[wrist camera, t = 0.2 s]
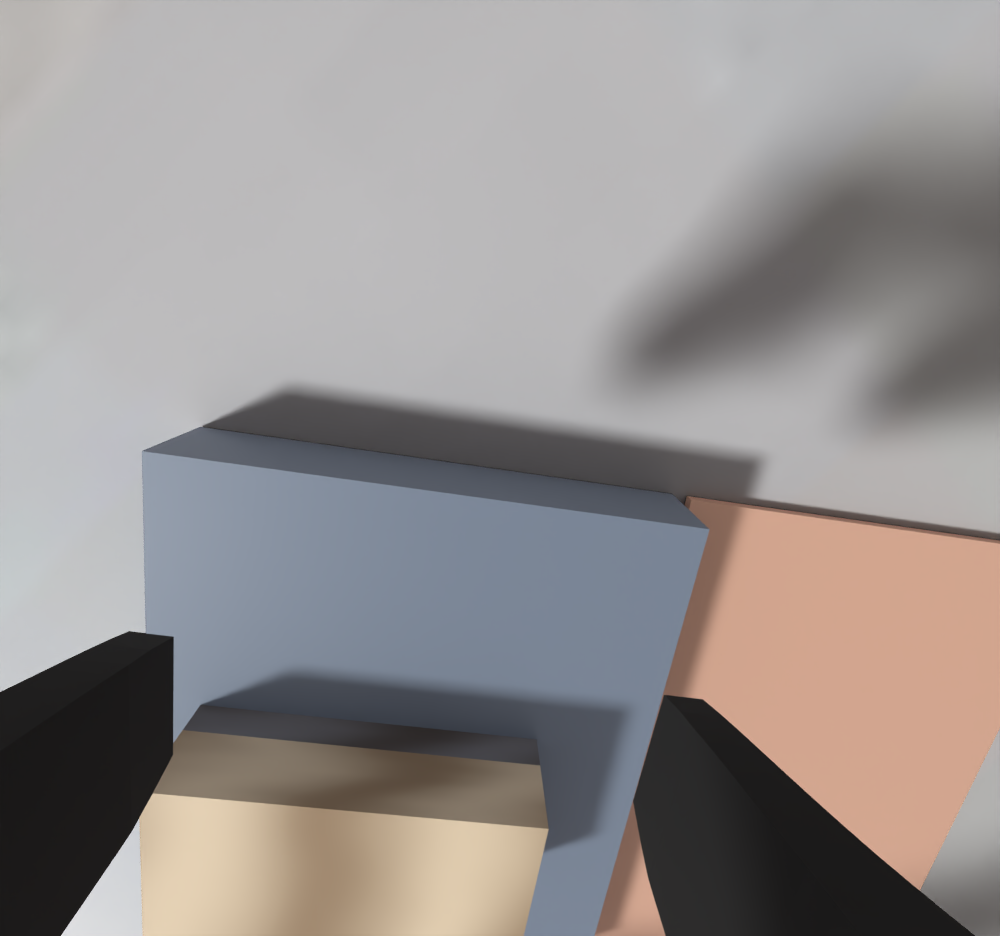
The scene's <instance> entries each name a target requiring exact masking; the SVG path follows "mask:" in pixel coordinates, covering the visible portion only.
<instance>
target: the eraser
mask: <svg viewBox="0 0 1000 936" xmlns="http://www.w3.org/2000/svg"><path fill="white" fill-rule="evenodd" d="M139 820H140V856H141V892H142V928H143V936H524V932H525V928H526V924H527V920H528V915H529V911H530V907H531V903H532V898H533V894H534V890H535V886H536V881H537V877H538V873H539V868H540V864H541V860H542V856H543V851H544V847H545V843H546V839H547V834H548V830H549V827H548V820H547V812H546V805H545V797H544V790H543V783H542V775H541V768H540V760H539V753H538V746H537V739H528V738H519V737H509V736H499V735H490V734H480V733H470V732H460V731H451V730H441V729H431V728H422V727H412V726H402V725H392V724H383V723H373V722H363V721H354V720H344V719H334V718H324V717H315V716H305V715H295V714H286V713H276V712H266V711H257V710H247V709H237V708H227V707H218V706H208V705H200V706H199V708H198V709H197V710H196V712H195V713H194V715H193V716H192V718H191V719H190V720H189V722H188V723H187V725H186V726H185V727H184V729H183V730H182V732H181V733H180V734H179V736H178V737H177V739H176V740H175V742H174V743H173V756H172V758H171V760H170V762H169V764H168V765H167V767H166V769H165V771H164V773H163V775H162V777H161V779H160V781H159V783H158V784H157V786H156V788H155V790H154V792H153V794H152V796H151V798H150V799H149V801H148V803H147V805H146V807H145V808H144V810H143V812H142V814H141V816H140V817H139Z"/></svg>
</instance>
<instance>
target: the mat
mask: <svg viewBox="0 0 1000 936" xmlns="http://www.w3.org/2000/svg"><path fill="white" fill-rule="evenodd" d="M684 506H686V507H687V508H688V509H689V510H690V511H691V512H692V513H693V514H694V515H695V516H696V517H697V518H698V519H699V520H700V521H701V522H702V523H703V524H705V525H706V526H707V527H708V528H709V529H710V530H709V533H708V537H707V540H706V544H705V547H704V551H703V554H702V558H701V561H700V565H699V568H698V572H697V576H696V579H695V583H694V586H693V590H692V593H691V597H690V600H689V604H688V607H687V611H686V614H685V618H684V621H683V625H682V629H681V632H680V636H679V639H678V643H677V646H676V650H675V653H674V657H673V660H672V664H671V667H670V671H669V674H668V678H667V681H666V685H665V689H664V692H663V696H662V699H661V703H662V700H663V697H664V695H671V696H679V697H688V698H696V699H703V700H704V701H705V702H707V703H708V704H709V705H710V706H711V707H713V708H714V709H715V710H716V711H717V712H719V713H720V714H721V715H722V716H723V717H724V718H726V719H727V720H728V721H729V722H730V723H731V724H732V725H733V726H734V727H736V728H737V729H738V730H739V731H740V732H741V733H742V734H743V735H744V736H746V737H747V738H748V739H749V740H750V741H751V742H752V743H753V744H754V745H755V746H756V747H758V748H759V749H760V750H761V751H762V752H763V753H764V754H765V755H766V756H767V757H768V758H769V759H771V760H772V761H773V762H774V763H775V764H776V765H777V766H778V767H779V768H780V769H781V770H783V771H784V772H785V773H786V774H787V775H788V776H789V777H790V778H791V779H792V780H793V781H795V782H796V783H797V784H798V785H799V786H800V787H801V788H802V789H803V790H804V791H805V792H807V793H808V794H809V795H810V796H811V797H812V798H813V799H814V800H815V801H817V802H818V803H819V804H820V805H821V806H822V807H823V808H824V809H825V810H827V811H828V812H829V813H830V814H831V815H832V816H833V817H834V818H835V819H837V820H838V821H839V822H840V823H841V824H842V825H843V826H844V827H846V828H847V829H848V830H849V831H850V832H851V833H852V834H854V835H855V836H856V837H857V838H858V839H859V840H860V841H862V842H863V843H864V844H865V845H866V846H867V847H869V848H870V849H871V850H872V851H873V852H874V853H875V854H877V855H878V856H879V857H880V858H881V859H882V860H884V861H885V862H886V863H887V864H888V865H890V866H891V867H892V868H893V869H894V870H896V871H897V872H898V873H899V874H900V875H902V876H903V877H904V878H905V879H906V880H907V881H909V882H910V883H911V884H912V885H913V886H915V887H916V888H917V889H918V890H919V891H920V889H921V887H922V885H923V883H924V881H925V879H926V877H927V875H928V873H929V871H930V869H931V867H932V865H933V863H934V861H935V859H936V857H937V855H938V853H939V851H940V849H941V847H942V844H943V842H944V840H945V838H946V836H947V834H948V832H949V830H950V828H951V826H952V824H953V822H954V820H955V818H956V816H957V814H958V812H959V810H960V808H961V806H962V804H963V802H964V800H965V798H966V796H967V794H968V792H969V790H970V788H971V786H972V783H973V781H974V779H975V777H976V775H977V773H978V771H979V769H980V767H981V765H982V763H983V761H984V759H985V757H986V755H987V753H988V751H989V749H990V747H991V745H992V743H993V741H994V739H995V737H996V735H997V733H998V731H999V729H1000V540H993V539H986V538H979V537H971V536H964V535H957V534H950V533H943V532H936V531H929V530H922V529H915V528H908V527H901V526H894V525H887V524H880V523H873V522H866V521H859V520H852V519H845V518H838V517H831V516H824V515H817V514H810V513H803V512H796V511H789V510H782V509H775V508H768V507H760V506H753V505H746V504H739V503H732V502H725V501H718V500H711V499H704V498H697V497H690V496H687V497H686V501H685V505H684ZM661 703H660V706H659V710H660V707H661ZM659 710H658V713H657V717H658V714H659ZM657 717H656V720H655V724H656V721H657ZM655 724H654V727H653V731H654V728H655ZM653 731H652V734H653ZM652 734H651V738H652ZM651 738H650V741H651ZM649 745H650V742H649ZM649 745H648V748H649ZM647 752H648V749H647ZM647 752H646V755H647ZM645 759H646V756H645ZM645 759H644V762H645ZM643 765H644V763H643ZM642 769H643V766H642ZM641 772H642V770H641ZM640 776H641V773H640ZM639 779H640V777H639ZM638 783H639V780H638ZM637 786H638V784H637ZM636 789H637V787H636ZM635 793H636V791H635ZM634 796H635V794H634ZM633 800H634V798H633ZM595 936H665V932H664V929H663V926H662V922H661V919H660V916H659V913H658V909H657V906H656V903H655V900H654V896H653V893H652V890H651V886H650V883H649V879H648V875H647V871H646V866H645V861H644V856H643V852H642V847H641V842H640V837H639V831H638V826H637V820H636V815H635V809H634V804H633V802H632V805H631V809H630V812H629V816H628V819H627V823H626V826H625V830H624V833H623V837H622V840H621V844H620V847H619V851H618V855H617V858H616V862H615V865H614V869H613V872H612V876H611V879H610V883H609V886H608V890H607V893H606V897H605V900H604V904H603V907H602V911H601V915H600V918H599V922H598V925H597V929H596V932H595Z"/></svg>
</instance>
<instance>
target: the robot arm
mask: <svg viewBox="0 0 1000 936" xmlns="http://www.w3.org/2000/svg"><path fill="white" fill-rule="evenodd" d="M173 690H174V637H172V636H164V635H155V634H147V633H138V632H130V631H129V632H127V633H124V634H122V635H119V636H117V637H115V638H112V639H110V640H108V641H106V642H103V643H101V644H99V645H97V646H95V647H93V648H90V649H88V650H86V651H84V652H82V653H80V654H78V655H76V656H74V657H72V658H69V659H67V660H65V661H63V662H61V663H59V664H57V665H55V666H53V667H51V668H49V669H47V670H45V671H43V672H41V673H39V674H37V675H35V676H33V677H31V678H28V679H26V680H24V681H22V682H20V683H18V684H16V685H14V686H12V687H10V688H8V689H6V690H4V691H2V692H0V936H61V935H62V933H63V932H64V930H65V929H66V927H67V926H68V924H69V923H70V921H71V920H72V919H73V917H74V916H75V914H76V913H77V911H78V910H79V908H80V907H81V906H82V904H83V903H84V901H85V900H86V898H87V897H88V895H89V894H90V892H91V891H92V889H93V888H94V886H95V885H96V884H97V882H98V881H99V879H100V878H101V876H102V875H103V873H104V872H105V870H106V869H107V867H108V866H109V864H110V863H111V861H112V860H113V859H114V857H115V856H116V854H117V853H118V851H119V850H120V848H121V847H122V845H123V844H124V842H125V841H126V839H127V838H128V836H129V835H130V833H131V832H132V830H133V828H134V826H135V825H136V823H137V821H138V819H139V817H140V816H141V814H142V812H143V810H144V808H145V807H146V805H147V803H148V801H149V799H150V798H151V796H152V794H153V792H154V790H155V788H156V786H157V784H158V783H159V781H160V779H161V777H162V775H163V773H164V771H165V769H166V767H167V765H168V764H169V762H170V760H171V758H172V756H173ZM633 804H634V809H635V815H636V820H637V826H638V831H639V837H640V842H641V847H642V852H643V856H644V861H645V866H646V871H647V875H648V879H649V883H650V886H651V890H652V893H653V896H654V900H655V903H656V906H657V909H658V913H659V916H660V919H661V922H662V926H663V929H664V932H665V936H975V935H973V934H972V933H971V932H970V931H968V930H967V929H966V928H965V927H963V926H962V925H961V924H960V923H958V922H957V921H956V920H955V919H953V918H952V917H951V916H950V915H948V914H947V913H946V912H945V911H943V910H942V909H941V908H940V907H939V906H937V905H936V904H935V903H934V902H933V901H931V900H930V899H929V898H928V897H927V896H925V895H924V894H923V893H922V892H921V891H919V890H918V889H917V888H916V887H915V886H913V885H912V884H911V883H910V882H909V881H907V880H906V879H905V878H904V877H903V876H902V875H900V874H899V873H898V872H897V871H896V870H894V869H893V868H892V867H891V866H890V865H888V864H887V863H886V862H885V861H884V860H882V859H881V858H880V857H879V856H878V855H877V854H875V853H874V852H873V851H872V850H871V849H870V848H869V847H867V846H866V845H865V844H864V843H863V842H862V841H860V840H859V839H858V838H857V837H856V836H855V835H854V834H852V833H851V832H850V831H849V830H848V829H847V828H846V827H844V826H843V825H842V824H841V823H840V822H839V821H838V820H837V819H835V818H834V817H833V816H832V815H831V814H830V813H829V812H828V811H827V810H825V809H824V808H823V807H822V806H821V805H820V804H819V803H818V802H817V801H815V800H814V799H813V798H812V797H811V796H810V795H809V794H808V793H807V792H805V791H804V790H803V789H802V788H801V787H800V786H799V785H798V784H797V783H796V782H795V781H793V780H792V779H791V778H790V777H789V776H788V775H787V774H786V773H785V772H784V771H783V770H781V769H780V768H779V767H778V766H777V765H776V764H775V763H774V762H773V761H772V760H771V759H769V758H768V757H767V756H766V755H765V754H764V753H763V752H762V751H761V750H760V749H759V748H758V747H756V746H755V745H754V744H753V743H752V742H751V741H750V740H749V739H748V738H747V737H746V736H744V735H743V734H742V733H741V732H740V731H739V730H738V729H737V728H736V727H734V726H733V725H732V724H731V723H730V722H729V721H728V720H727V719H726V718H724V717H723V716H722V715H721V714H720V713H719V712H717V711H716V710H715V709H714V708H713V707H711V706H710V705H709V704H708V703H707V702H705V701H704V700H703V699H696V698H688V697H679V696H671V695H664V697H663V700H662V703H661V707H660V710H659V714H658V717H657V721H656V724H655V728H654V731H653V734H652V738H651V741H650V745H649V748H648V752H647V755H646V759H645V762H644V765H643V769H642V772H641V776H640V779H639V783H638V786H637V789H636V793H635V796H634V800H633Z"/></svg>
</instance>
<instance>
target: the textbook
mask: <svg viewBox="0 0 1000 936" xmlns="http://www.w3.org/2000/svg"><path fill="white" fill-rule="evenodd" d="M142 478H143V525H144V572H145V619H146V633H147V634H155V635H164V636H172V637H174V690H173V743H174V742H175V740H176V739H177V737H178V736H179V734H180V733H181V732H182V730H183V729H184V727H185V726H186V725H187V723H188V722H189V720H190V719H191V718H192V716H193V715H194V713H195V712H196V710H197V709H198V708H199V706H200V705H208V706H218V707H227V708H237V709H247V710H257V711H266V712H276V713H286V714H295V715H305V716H315V717H324V718H334V719H344V720H354V721H363V722H373V723H383V724H392V725H402V726H412V727H422V728H431V729H441V730H451V731H460V732H470V733H480V734H490V735H499V736H509V737H519V738H528V739H537V746H538V753H539V760H540V768H541V775H542V783H543V790H544V797H545V805H546V812H547V820H548V827H549V830H548V834H547V839H546V843H545V847H544V851H543V856H542V860H541V864H540V868H539V873H538V877H537V881H536V886H535V890H534V894H533V898H532V903H531V907H530V911H529V915H528V920H527V924H526V928H525V932H524V936H595V932H596V929H597V925H598V922H599V918H600V915H601V911H602V907H603V904H604V900H605V897H606V893H607V890H608V886H609V883H610V879H611V876H612V872H613V869H614V865H615V862H616V858H617V855H618V851H619V847H620V844H621V840H622V837H623V833H624V830H625V826H626V823H627V819H628V816H629V812H630V809H631V805H632V802H633V798H634V794H635V791H636V787H637V784H638V780H639V777H640V773H641V770H642V766H643V763H644V759H645V756H646V752H647V749H648V745H649V742H650V738H651V734H652V731H653V727H654V724H655V720H656V717H657V713H658V710H659V706H660V703H661V699H662V696H663V692H664V689H665V685H666V681H667V678H668V674H669V671H670V667H671V664H672V660H673V657H674V653H675V650H676V646H677V643H678V639H679V636H680V632H681V629H682V625H683V621H684V618H685V614H686V611H687V607H688V604H689V600H690V597H691V593H692V590H693V586H694V583H695V579H696V576H697V572H698V568H699V565H700V561H701V558H702V554H703V551H704V547H705V544H706V540H707V537H708V533H709V530H710V529H709V528H708V527H707V526H706V525H705V524H703V523H702V522H701V521H700V520H699V519H698V518H697V517H696V516H695V515H694V514H693V513H692V512H691V511H690V510H689V509H688V508H687V507H686V506H684V505H683V504H682V503H681V502H680V501H679V500H678V499H677V498H676V497H675V496H674V495H673V494H669V493H662V492H655V491H648V490H641V489H634V488H627V487H620V486H613V485H606V484H599V483H592V482H585V481H578V480H571V479H564V478H557V477H549V476H542V475H535V474H528V473H521V472H514V471H507V470H500V469H493V468H486V467H479V466H472V465H465V464H458V463H451V462H444V461H437V460H430V459H423V458H416V457H409V456H402V455H395V454H388V453H381V452H374V451H367V450H360V449H353V448H346V447H339V446H331V445H324V444H317V443H310V442H303V441H296V440H289V439H282V438H275V437H268V436H261V435H254V434H247V433H240V432H233V431H226V430H219V429H212V428H205V427H199V428H196V429H194V430H192V431H189V432H187V433H184V434H182V435H180V436H177V437H175V438H172V439H170V440H168V441H165V442H163V443H160V444H158V445H156V446H153V447H151V448H148V449H146V450H144V451H142Z"/></svg>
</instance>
